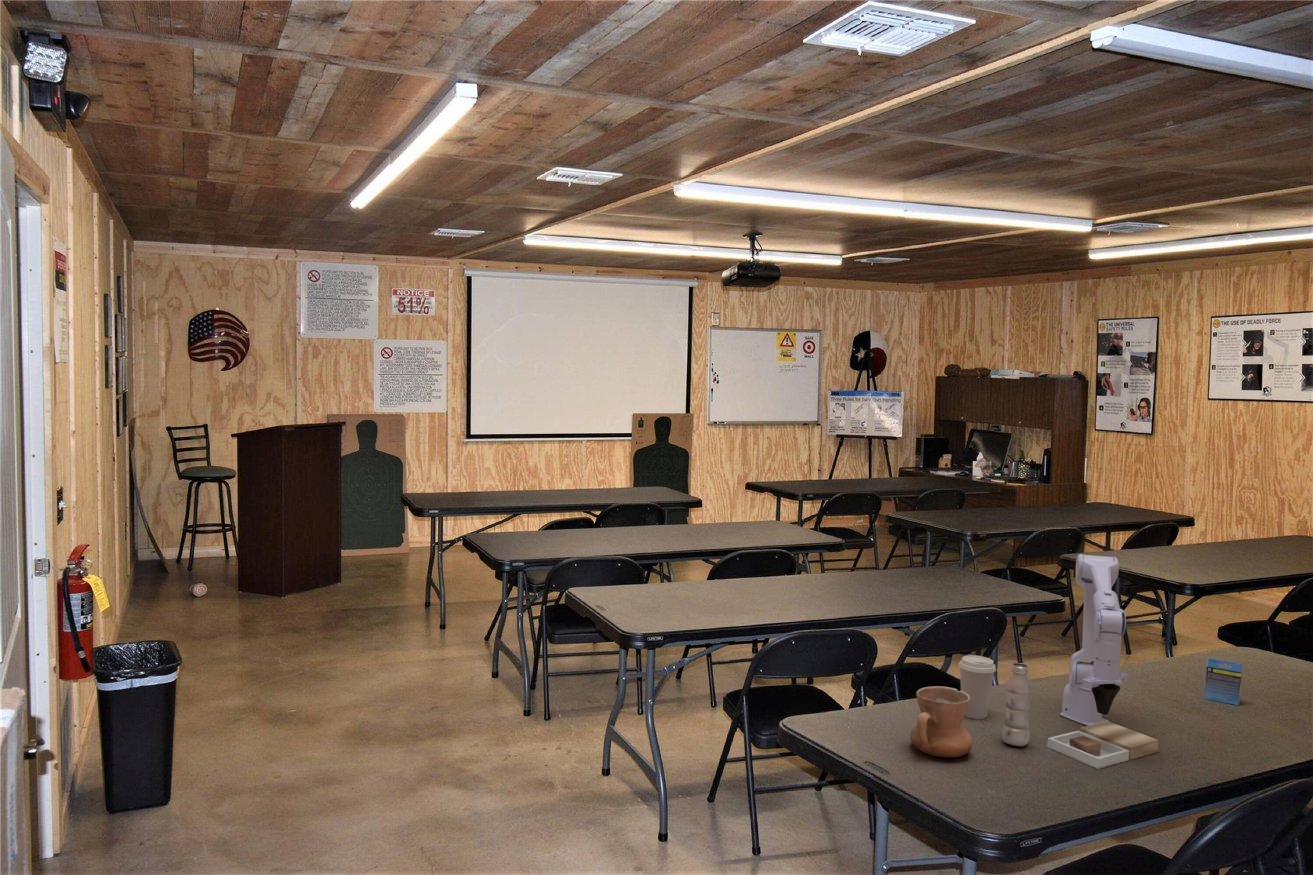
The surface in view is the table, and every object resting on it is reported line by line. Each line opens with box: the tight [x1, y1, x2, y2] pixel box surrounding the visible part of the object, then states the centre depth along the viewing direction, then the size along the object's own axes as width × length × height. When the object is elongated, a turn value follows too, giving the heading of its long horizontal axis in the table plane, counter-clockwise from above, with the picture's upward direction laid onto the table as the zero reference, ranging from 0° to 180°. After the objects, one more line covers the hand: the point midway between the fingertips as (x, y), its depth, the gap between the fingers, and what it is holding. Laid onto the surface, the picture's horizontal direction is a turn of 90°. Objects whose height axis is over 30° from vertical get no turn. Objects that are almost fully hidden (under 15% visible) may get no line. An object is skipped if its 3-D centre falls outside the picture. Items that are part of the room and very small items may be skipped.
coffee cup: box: [958, 654, 997, 720], centre depth 264 cm, size 10×10×15 cm
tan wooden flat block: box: [1079, 721, 1160, 761], centre depth 246 cm, size 14×11×3 cm
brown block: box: [1069, 736, 1101, 756], centre depth 240 cm, size 5×5×3 cm
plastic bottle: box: [1001, 662, 1033, 747], centre depth 244 cm, size 6×7×20 cm
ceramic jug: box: [909, 685, 974, 759], centre depth 238 cm, size 18×14×14 cm
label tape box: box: [1203, 657, 1243, 706], centre depth 283 cm, size 9×4×12 cm, turn 58°
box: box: [1046, 730, 1129, 770], centre depth 240 cm, size 14×12×2 cm
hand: (1102, 713), depth 242 cm, fingers closed
